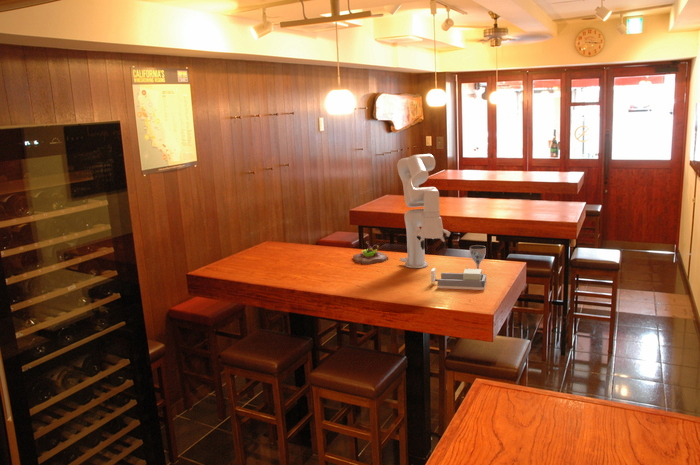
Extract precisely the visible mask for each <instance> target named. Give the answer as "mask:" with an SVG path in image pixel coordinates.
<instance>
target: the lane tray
mask: <svg viewBox="0 0 700 465" xmlns="http://www.w3.org/2000/svg"><path fill="white" fill-rule="evenodd" d="M437 280H438V281H437V289H448V290H449V289H452V290H455V289H456V290H474V291H475V290H479V291H485V289H486V284H487V273H482V281H479V280H463V273H462V272H461V273H460V272H441V273H440V278H438V279H437Z"/></svg>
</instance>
